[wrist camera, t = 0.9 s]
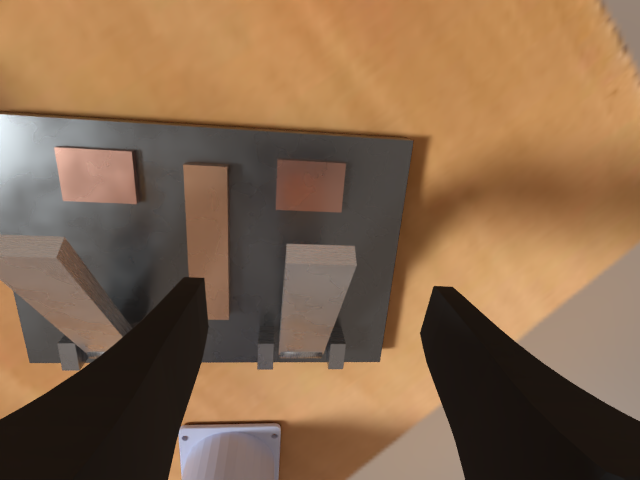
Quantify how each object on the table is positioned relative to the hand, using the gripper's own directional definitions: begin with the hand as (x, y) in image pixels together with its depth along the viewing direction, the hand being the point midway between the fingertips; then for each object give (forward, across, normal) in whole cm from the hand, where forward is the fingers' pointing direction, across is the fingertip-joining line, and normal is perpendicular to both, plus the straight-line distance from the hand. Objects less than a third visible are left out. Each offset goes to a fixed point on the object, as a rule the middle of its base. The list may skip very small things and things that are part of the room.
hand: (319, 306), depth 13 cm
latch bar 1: (+7, +12, +6) cm, 15 cm away
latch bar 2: (+8, 0, +6) cm, 10 cm away
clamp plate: (+13, +6, +6) cm, 16 cm away
